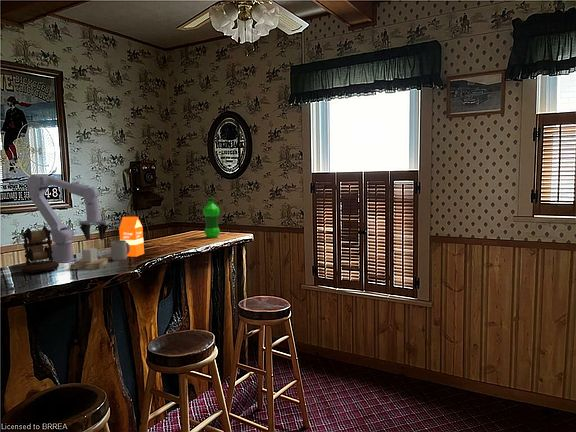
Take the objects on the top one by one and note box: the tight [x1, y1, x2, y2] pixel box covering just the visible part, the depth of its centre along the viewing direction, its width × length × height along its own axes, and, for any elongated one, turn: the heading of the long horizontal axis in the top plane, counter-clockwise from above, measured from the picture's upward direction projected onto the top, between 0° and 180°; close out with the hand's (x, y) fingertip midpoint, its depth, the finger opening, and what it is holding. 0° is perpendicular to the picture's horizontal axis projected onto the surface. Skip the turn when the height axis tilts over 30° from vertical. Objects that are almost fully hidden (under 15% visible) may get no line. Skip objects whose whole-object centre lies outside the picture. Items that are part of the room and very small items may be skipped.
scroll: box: [20, 225, 60, 274], centre depth 190 cm, size 15×15×20 cm
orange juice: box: [118, 216, 145, 257], centre depth 221 cm, size 8×9×20 cm
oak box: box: [70, 257, 109, 270], centre depth 198 cm, size 12×12×3 cm
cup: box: [110, 239, 130, 262], centre depth 213 cm, size 7×10×9 cm
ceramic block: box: [81, 247, 98, 262], centre depth 198 cm, size 4×4×6 cm
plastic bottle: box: [202, 197, 221, 239], centre depth 270 cm, size 10×10×25 cm
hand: (95, 239), depth 210 cm, fingers open, 7 cm apart
